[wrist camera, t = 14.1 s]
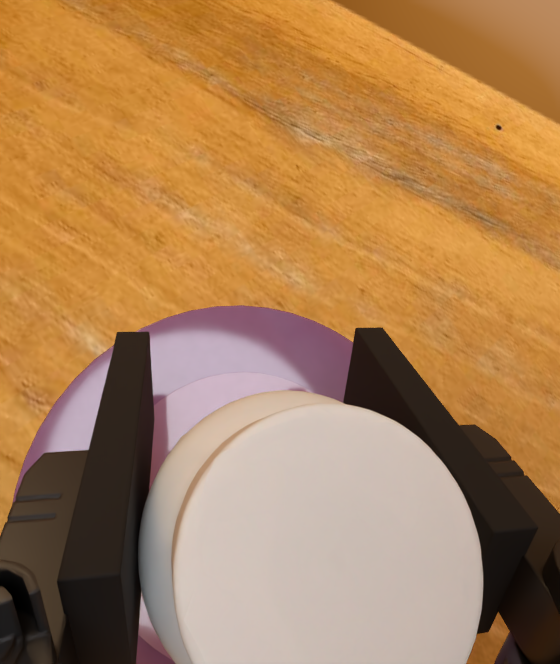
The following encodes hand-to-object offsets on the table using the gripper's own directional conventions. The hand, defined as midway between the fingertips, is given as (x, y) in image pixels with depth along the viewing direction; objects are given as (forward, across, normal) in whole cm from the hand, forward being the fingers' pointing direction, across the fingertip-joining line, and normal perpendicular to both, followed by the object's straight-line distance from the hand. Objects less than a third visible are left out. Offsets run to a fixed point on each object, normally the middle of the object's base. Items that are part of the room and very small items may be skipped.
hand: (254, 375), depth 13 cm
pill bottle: (0, 0, -5) cm, 5 cm away
